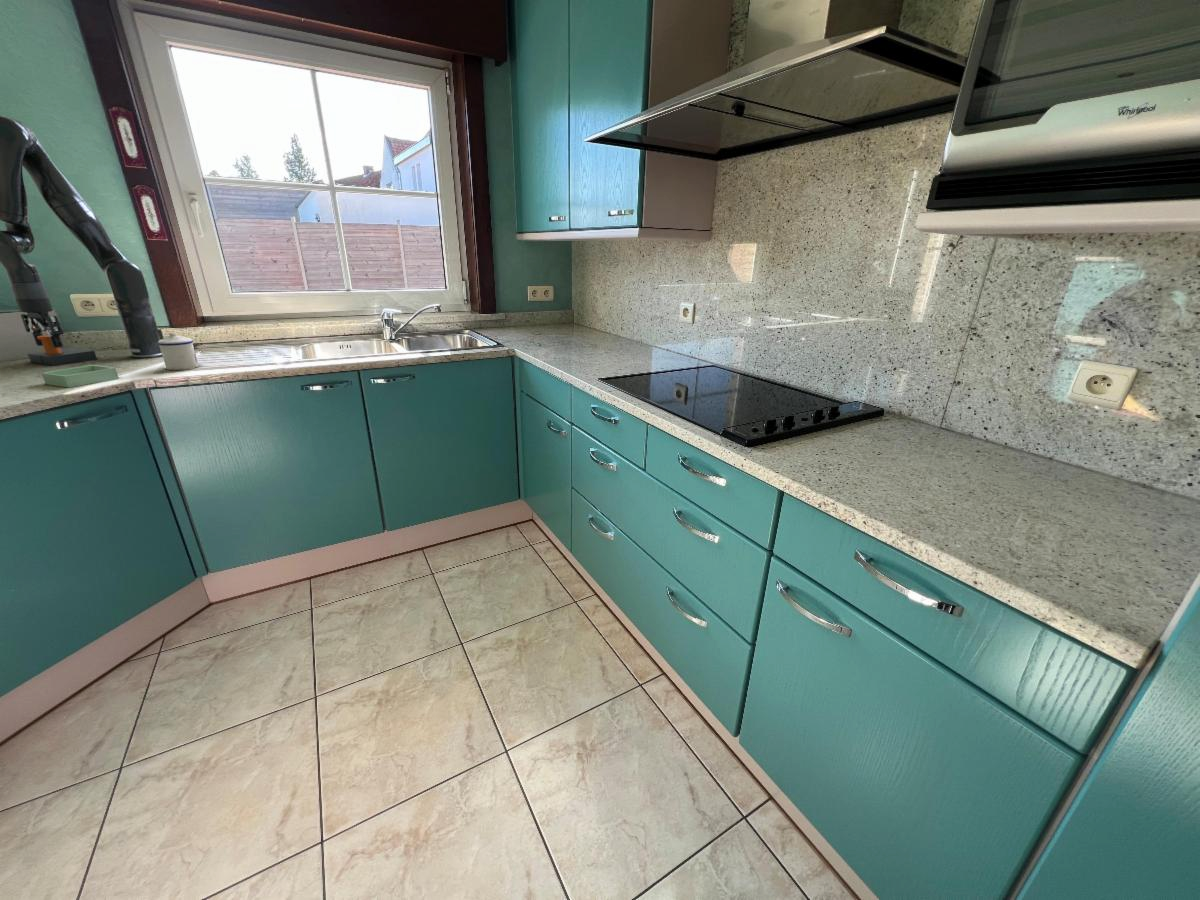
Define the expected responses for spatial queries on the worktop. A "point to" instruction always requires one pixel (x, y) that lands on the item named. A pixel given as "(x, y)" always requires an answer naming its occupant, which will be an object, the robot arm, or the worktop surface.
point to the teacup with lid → (178, 352)
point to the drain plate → (62, 356)
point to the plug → (48, 345)
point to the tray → (80, 375)
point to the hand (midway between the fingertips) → (50, 346)
